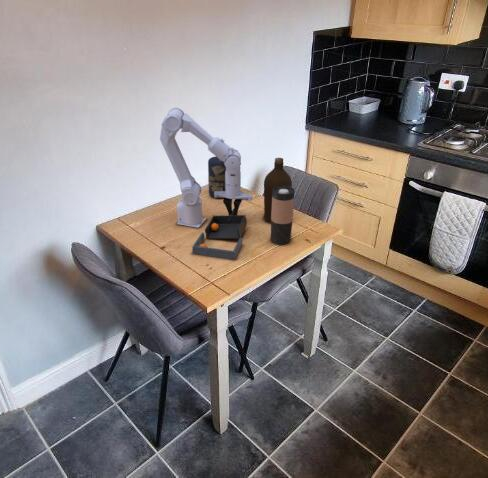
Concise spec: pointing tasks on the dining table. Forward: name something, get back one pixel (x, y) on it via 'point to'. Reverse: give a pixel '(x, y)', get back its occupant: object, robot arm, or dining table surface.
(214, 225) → the ball
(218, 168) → the canister
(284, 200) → the travel mug
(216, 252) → the frame
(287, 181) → the olive oil
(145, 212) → the dining table surface
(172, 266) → the dining table surface
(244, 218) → the scoop pan
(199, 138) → the robot arm
